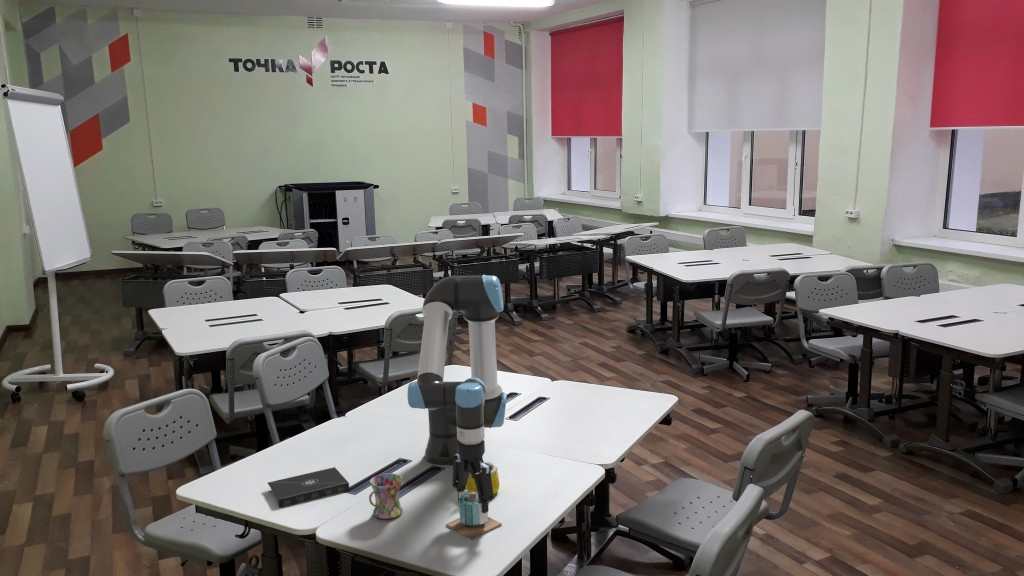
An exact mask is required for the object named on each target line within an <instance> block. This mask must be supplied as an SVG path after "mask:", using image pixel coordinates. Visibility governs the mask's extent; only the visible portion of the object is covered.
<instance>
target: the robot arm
mask: <svg viewBox="0 0 1024 576" xmlns="http://www.w3.org/2000/svg"><path fill="white" fill-rule="evenodd" d="M421 309H422V311H421V313H422V316H423V317H424V318H423V319H424V321H423V329H422V335H421V337H422V338H421V345H420V354H419V363H418V368H417V369H418V370H417V371H418V372H417V376H416V377H417V380H416V381H411V382H409V384H408V385H407V386H408V387H407V403H408V406H409V407H410V408H411V409H421V410H426V409H427V410H428V430H429V431H428V434H429V436H428V440H427V444H426V447H425V451H424V458H425V460H426V461H427V462H429V463H431V464H436V465H452V466H453V467H452V468H453V469H452V482H451V485H452V488H456V489H455V490H456V492H457V500H458V502H459V498H460V497H461V496H462V495H464V494H467V493H468V490H464V489H466V488H468V487H467V486H466V485H467V481H468V478H469V474H470V473H471V476H472V478H474V481H475V484H476V488H477V491H478V495H479V499H480V501H478V518H479V524H480V525H481V524H483V523H485V522H487V521H488V517H489V515H488V512H489V502H492V501H494V499H495V496H494V495H495V494H494V495H493V487H492V480H491V465H485V464H484V462H485V461H484V458H483V456H484V454H485V453H486V446H485V445H486V444H485V428H489V429H493V428H500V427H502V426H503V425H504V424H505V418H506V416H505V415H506V405H507V393H506V392H503V388H502V386H501V385H500V384H498V365H497V346H496V345H497V342H496V341H497V340H496V324H495V323H496V321H497V319H498V318H499V317H500V313H501V312H503V311H504V297H503V290H502V285H501V282H500V279H499V278H498V277H497V275H486V274H481V275H450V276H447V277H444V278H442V279H440V280H439V281H437V282H436V283H434V285H433V286H432V287H431V288H430V290H429V291H428V292H427V294H426V296H425V298H424V299H423V305H422V308H421ZM454 313H462V314H463V319H464V320H465V321H467V322H468V337H469V338H468V340H469V358H470V375H471V377H469V378H467V379H465V380H464V381H444V377H445V367H446V355H447V343H448V336H449V335H448V333H449V323H450V320H451V318H452V317H453V314H454ZM478 472H479V473H478ZM476 473H478V474H476Z"/></svg>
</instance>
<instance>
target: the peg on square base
mask: <svg viewBox="0 0 1024 576" xmlns="http://www.w3.org/2000/svg"><path fill="white" fill-rule="evenodd" d="M467 499H468V502H471V503H473V502H478V496H477V495H476V492H470V493H469V496H468V497H467ZM445 526H446V527H447V528H449V529H451V530H453V531H455V532H457V533H459V534H460V535H462V536H464V537H466V538H468V539H470V540H471V541H472V540H474V539H476V538H478V537H480V536H482V535H484V534H486V533H489V532H491V531H493V530H494V529H497V528H499V527H501V526H503V525H502V523H501V522H499V521H498V520H496V519H494V518H491V517H490V516H488V521H487V522H485V523H483V524H481V525H480V524H478V525H466V524H464V523H462V522H461V521H460V517H459V518H456V519H453V520H452V521H450V522H448V523H447V522H446V524H445Z"/></svg>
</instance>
